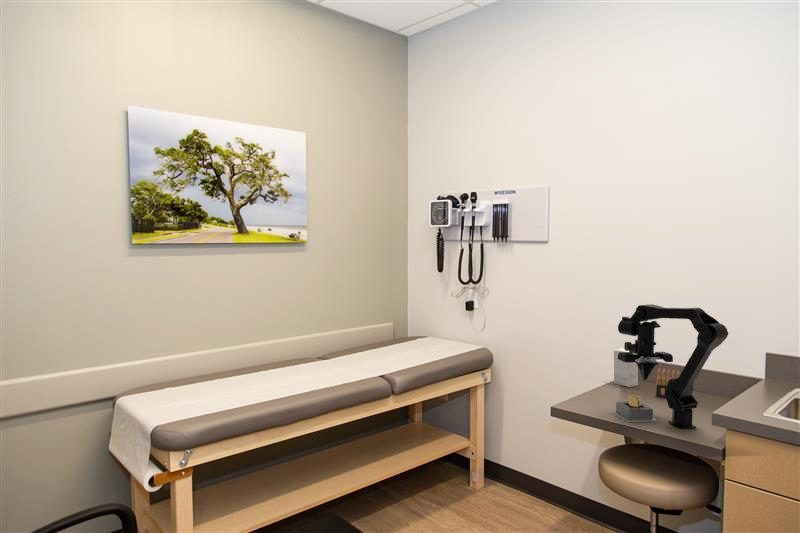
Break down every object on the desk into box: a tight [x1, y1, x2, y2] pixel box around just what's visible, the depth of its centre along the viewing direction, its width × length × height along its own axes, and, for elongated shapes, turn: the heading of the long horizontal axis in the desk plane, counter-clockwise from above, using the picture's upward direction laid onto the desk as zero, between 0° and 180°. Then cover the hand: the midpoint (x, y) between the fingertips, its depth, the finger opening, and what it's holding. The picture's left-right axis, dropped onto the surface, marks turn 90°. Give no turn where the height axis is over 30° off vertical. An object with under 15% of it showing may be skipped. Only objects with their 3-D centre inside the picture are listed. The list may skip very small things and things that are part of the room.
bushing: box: [628, 394, 642, 408], centre depth 193 cm, size 4×4×7 cm
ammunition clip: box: [655, 367, 681, 399], centre depth 217 cm, size 11×2×12 cm, turn 62°
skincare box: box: [613, 347, 639, 388], centre depth 237 cm, size 8×7×16 cm
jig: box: [611, 401, 658, 423], centre depth 193 cm, size 11×11×4 cm
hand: (644, 379), depth 197 cm, fingers closed
